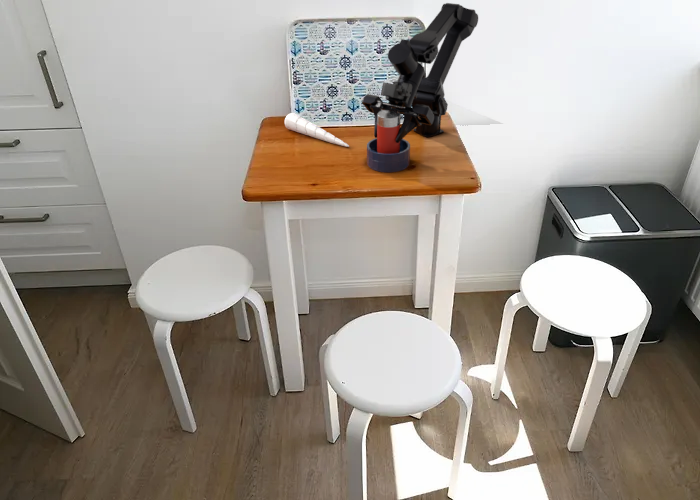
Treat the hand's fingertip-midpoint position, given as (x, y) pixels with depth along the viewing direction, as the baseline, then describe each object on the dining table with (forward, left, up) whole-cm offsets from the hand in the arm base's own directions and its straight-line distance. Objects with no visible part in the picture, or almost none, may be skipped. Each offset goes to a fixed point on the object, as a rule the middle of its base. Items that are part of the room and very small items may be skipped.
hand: (385, 139), depth 147 cm
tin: (-1, -1, -7) cm, 7 cm away
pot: (-1, -1, -7) cm, 7 cm away
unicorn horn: (+5, -27, -7) cm, 28 cm away
